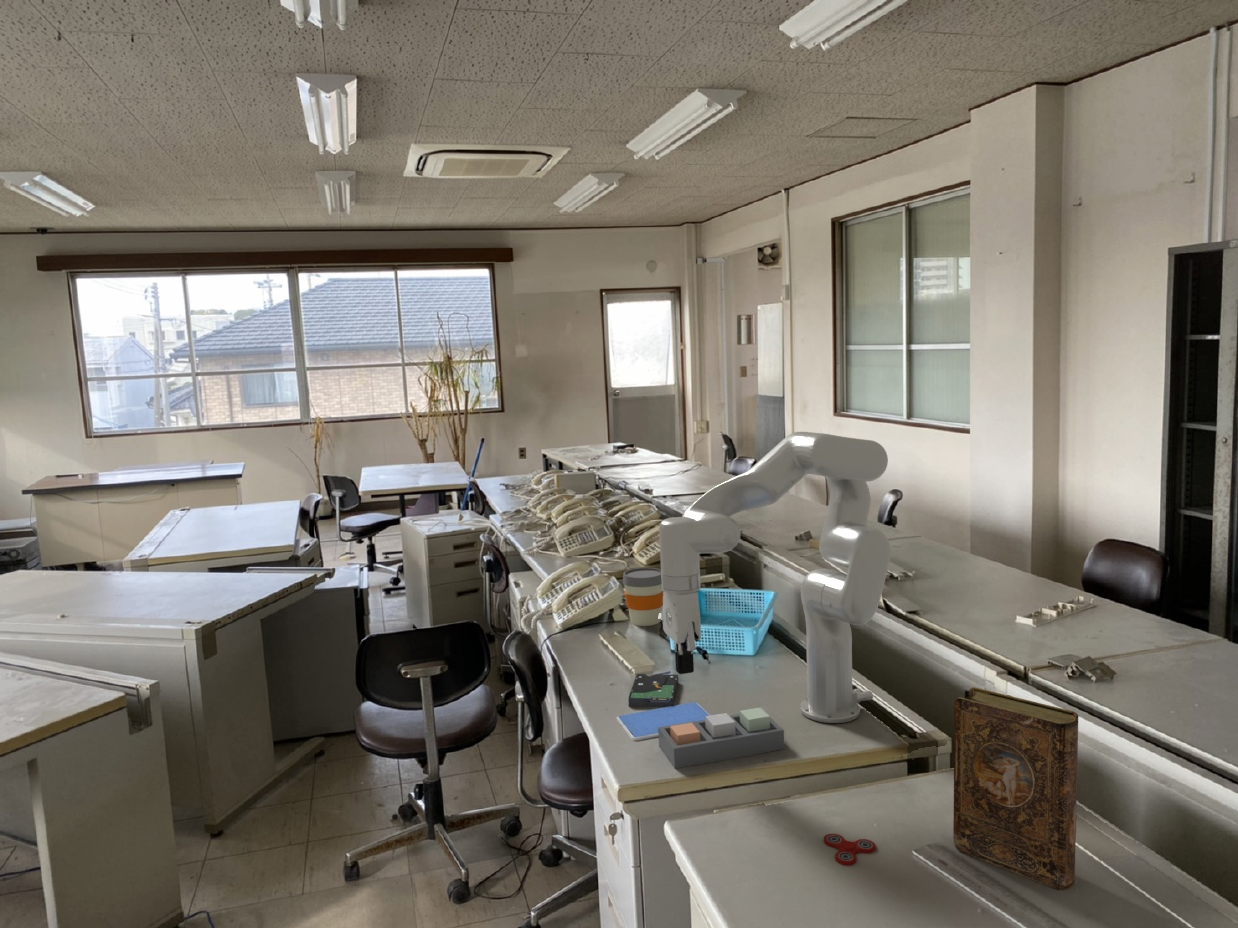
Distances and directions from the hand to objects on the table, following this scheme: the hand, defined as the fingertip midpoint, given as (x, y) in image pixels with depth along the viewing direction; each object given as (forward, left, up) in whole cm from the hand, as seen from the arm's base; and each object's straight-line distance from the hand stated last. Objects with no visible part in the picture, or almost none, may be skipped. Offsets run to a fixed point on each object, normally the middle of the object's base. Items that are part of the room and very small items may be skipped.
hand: (684, 671), depth 165 cm
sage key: (-14, 0, -13) cm, 20 cm away
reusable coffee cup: (-16, -84, -17) cm, 88 cm away
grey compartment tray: (-7, 0, -17) cm, 18 cm away
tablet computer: (0, -15, -18) cm, 24 cm away
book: (-34, +51, -17) cm, 64 cm away
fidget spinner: (-13, +40, -18) cm, 45 cm away
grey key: (-7, 0, -13) cm, 15 cm away
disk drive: (-2, -31, -18) cm, 35 cm away
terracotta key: (+1, 0, -14) cm, 14 cm away
